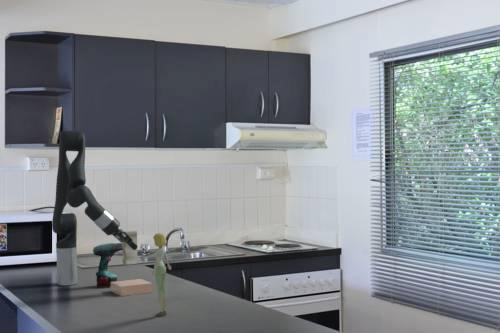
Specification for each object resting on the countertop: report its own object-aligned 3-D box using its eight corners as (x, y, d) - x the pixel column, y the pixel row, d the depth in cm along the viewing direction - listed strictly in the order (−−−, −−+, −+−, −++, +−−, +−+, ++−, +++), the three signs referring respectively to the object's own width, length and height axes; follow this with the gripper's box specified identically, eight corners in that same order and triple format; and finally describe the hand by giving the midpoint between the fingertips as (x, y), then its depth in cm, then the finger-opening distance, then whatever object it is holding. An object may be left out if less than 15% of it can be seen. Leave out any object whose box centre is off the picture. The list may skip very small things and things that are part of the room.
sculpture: (164, 311, 263) (162, 231, 262) (175, 311, 261) (173, 231, 261) (146, 318, 251) (144, 235, 250) (158, 319, 249) (155, 235, 249)
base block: (110, 291, 307) (110, 282, 307) (141, 287, 314) (140, 278, 314) (121, 296, 295) (121, 286, 295) (152, 292, 302) (152, 283, 302)
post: (122, 263, 305) (122, 231, 305) (133, 262, 308) (132, 230, 307) (126, 264, 301) (125, 232, 301) (137, 263, 303) (136, 231, 303)
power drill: (124, 287, 314) (123, 243, 314) (91, 287, 318) (89, 243, 317) (130, 285, 321) (129, 241, 321) (97, 284, 325) (96, 241, 325)
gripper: (117, 216, 294) (145, 242, 300) (107, 214, 307) (134, 240, 313) (105, 230, 292) (133, 256, 297) (95, 227, 304) (122, 252, 310)
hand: (133, 247), depth 305 cm, fingers closed on post, 5 cm apart
